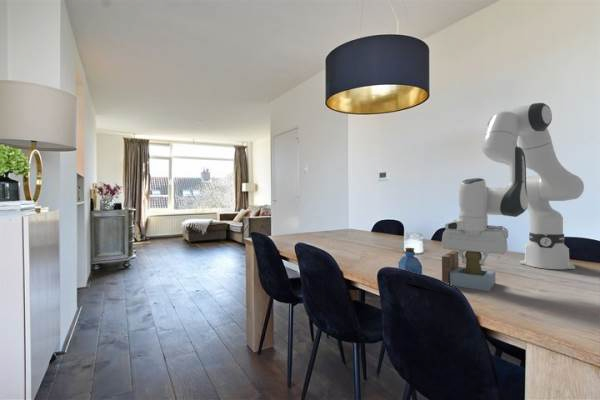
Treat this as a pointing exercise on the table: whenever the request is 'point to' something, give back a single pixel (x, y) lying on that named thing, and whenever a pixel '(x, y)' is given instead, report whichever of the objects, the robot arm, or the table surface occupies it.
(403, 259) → the perfume bottle
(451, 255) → the wall
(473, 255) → the cork
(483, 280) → the socket block
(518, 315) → the table surface
